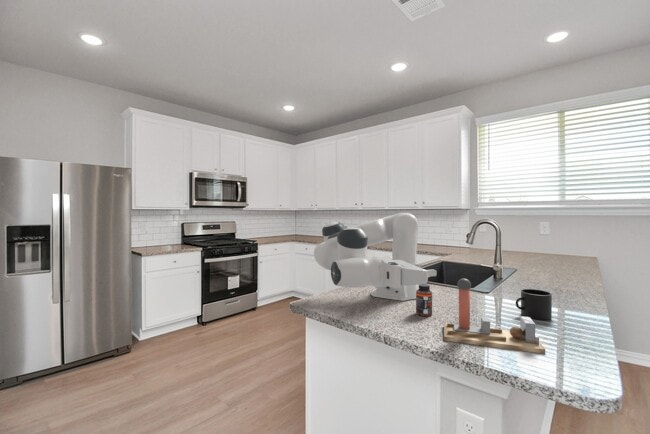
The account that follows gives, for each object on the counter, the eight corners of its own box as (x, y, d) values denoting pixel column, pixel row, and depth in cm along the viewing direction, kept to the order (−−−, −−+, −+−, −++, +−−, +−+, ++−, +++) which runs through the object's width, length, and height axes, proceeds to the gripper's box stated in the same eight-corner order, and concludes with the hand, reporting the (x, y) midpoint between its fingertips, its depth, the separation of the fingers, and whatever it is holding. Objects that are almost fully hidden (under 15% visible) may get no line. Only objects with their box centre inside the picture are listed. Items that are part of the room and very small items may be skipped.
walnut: (511, 339, 91) (511, 328, 91) (508, 335, 94) (508, 324, 94) (524, 341, 90) (524, 329, 90) (521, 336, 93) (521, 325, 93)
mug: (508, 311, 119) (508, 288, 119) (540, 312, 119) (541, 289, 118) (523, 320, 110) (523, 295, 110) (557, 320, 109) (558, 295, 109)
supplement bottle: (430, 317, 113) (430, 287, 113) (414, 315, 117) (414, 285, 116) (433, 313, 118) (433, 284, 118) (418, 310, 122) (418, 282, 121)
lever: (454, 332, 96) (454, 279, 95) (453, 327, 100) (453, 276, 100) (490, 337, 92) (490, 281, 92) (487, 331, 97) (487, 278, 97)
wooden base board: (444, 340, 94) (444, 333, 94) (443, 326, 105) (443, 320, 105) (545, 353, 84) (545, 345, 84) (533, 336, 95) (533, 329, 95)
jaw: (525, 342, 88) (525, 323, 88) (520, 335, 94) (520, 316, 94) (539, 344, 87) (539, 324, 87) (533, 336, 93) (533, 317, 93)
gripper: (374, 274, 103) (413, 273, 105) (397, 289, 83) (445, 287, 85) (374, 256, 103) (413, 254, 105) (397, 266, 83) (444, 265, 85)
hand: (427, 269), depth 95 cm, fingers open, 8 cm apart
